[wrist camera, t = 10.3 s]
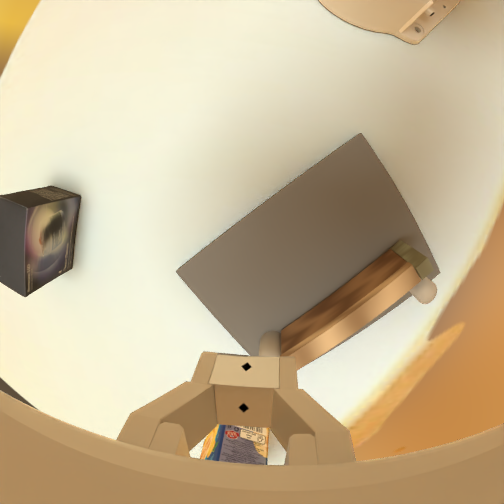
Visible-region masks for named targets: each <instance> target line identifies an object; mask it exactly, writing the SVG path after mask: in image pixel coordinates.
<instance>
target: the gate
mask: <svg viewBox="0 0 504 504" xmlns="http://www.w3.org/2000/svg"><path fill="white" fill-rule="evenodd" d="M433 270H434V269H433V267H432V265H431V263H430V261H429V259H428V258H427V257H426V256H424V255H423V254H421V253H420V252H418V251H417V250H415V249H414V248H412V247H411V246H409V245H407V244H406V243H404V242H403V241H401V240H400V241H399V242H397V243H396V244H395V245H394V246H393V247H391V248H390V249H389V250H388V251H387V252H385V253H384V254H383V255H382V256H381V257H379V258H378V259H377V260H376V261H374V262H373V263H372V264H371V265H369V266H368V267H367V268H366V269H364V270H363V271H362V272H361V273H359V274H358V275H357V276H355V277H354V278H353V279H352V280H350V281H349V282H348V283H346V284H345V285H344V286H342V287H341V288H340V289H338V290H337V291H336V292H334V293H333V294H332V295H330V296H329V297H328V298H326V299H325V300H324V301H322V302H321V303H320V304H318V305H317V306H315V307H314V308H313V309H311V310H310V311H309V312H307V313H306V314H304V315H303V316H301V317H300V318H299V319H297V320H296V321H294V322H293V323H291V324H290V325H289V326H287V327H286V328H284V329H283V330H281V355H280V356H294V357H295V358H296V369H297V370H299V369H300V368H302V367H303V366H305V365H307V364H308V363H310V362H311V361H313V360H315V359H316V358H318V357H319V356H321V355H322V354H324V353H325V352H327V351H328V350H330V349H331V348H333V347H334V346H336V345H337V344H339V343H340V342H342V341H343V340H345V339H346V338H348V337H349V336H350V335H352V334H353V333H355V332H356V331H358V330H359V329H360V328H362V327H363V326H364V325H366V324H367V323H369V322H370V321H371V320H373V319H374V318H375V317H377V316H378V315H379V314H381V313H382V312H383V311H385V310H386V309H387V308H388V307H390V306H391V305H392V304H394V303H395V302H396V301H397V300H399V299H400V298H401V297H402V296H404V295H405V294H406V293H407V292H408V291H410V290H411V289H412V288H413V287H414V286H416V285H417V284H418V283H419V282H420V281H421V279H422V280H423V279H424V278H425V277H427V276H428V275H429V274H430V273H431V272H432V271H433ZM420 278H421V279H420Z"/></svg>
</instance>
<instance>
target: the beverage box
mask: <svg viewBox="0 0 504 504" xmlns="http://www.w3.org/2000/svg"><path fill="white" fill-rule="evenodd" d="M268 436H269V428H261V427H248V426H234V425H220V424H217V426H216V427H215V428H214V429H213V430H212V431H211V432H210V433H209V435H208V436H207V438H206V439H205V441H204V445H203V449H202V453H201V456H200V459H205V460H212V461H221V462H230V463H241V464H256V465H267V457H268Z"/></svg>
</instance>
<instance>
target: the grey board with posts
mask: <svg viewBox="0 0 504 504" xmlns="http://www.w3.org/2000/svg"><path fill="white" fill-rule="evenodd" d="M400 240H401V241H403V242H404V243H406V244H407V245H409V246H411V247H412V248H414V249H415V250H417V251H418V252H420V253H421V254H423V255H424V256H426V257H427V258H428V259H429V261H430V263H431V265H432V267H433V269H434V270H433V271H432V272H431V273H430V274H429V275H428V276H427V277H425V278H424V279H423V280H422V279H421V278H420V279H421V281H420V282H419V283H418V284H417V285H416V286H414V287H413V288H412V289H411V290H410V291H408V292H407V293H406V294H405V295H404V296H402V297H401V298H400V299H399V300H397V301H396V302H395V303H394V304H392V305H391V306H390V307H388V308H387V309H386V310H385V311H383V312H382V313H381V314H379V315H378V316H377V317H375V318H374V319H373V320H371V321H370V322H369V323H367V324H366V325H364V326H363V327H362V328H360V329H359V330H358V331H356V332H355V333H353V334H352V335H350V336H349V337H348V338H346V339H345V340H343V341H342V342H340V343H339V344H337V345H336V346H334V347H333V348H331V349H330V350H328V351H327V352H329V351H331V350H332V349H334V348H336V347H337V346H339V345H340V344H342V343H344V342H345V341H347V340H348V339H350V338H351V337H353V336H355V335H356V334H358V333H359V332H361V331H362V330H364V329H365V328H367V327H368V326H370V325H371V324H373V323H374V322H376V321H377V320H378V319H380V318H381V317H383V316H384V315H386V314H387V313H388V312H390V311H391V310H393V309H394V308H395V307H397V306H398V305H400V304H401V303H402V302H404V301H405V300H406V299H408V298H409V297H410V296H412V295H413V296H414V297H415V298H416V299H417V300H418V301H419V302H420V303H422V304H427V303H430V302H431V301H432V300H433V299H434V298H435V296H436V293H437V287H436V285H435V284H434V283H433V282H432V281H431V280H432V279H433V278H435V277H436V276H437V275H438V274H439V273H440V271H439V269H438V266H437V264H436V262H435V260H434V258H433V255H432V253H431V251H430V249H429V247H428V245H427V243H426V241H425V239H424V237H423V235H422V233H421V231H420V229H419V227H418V225H417V223H416V221H415V219H414V217H413V216H412V214H411V212H410V210H409V208H408V206H407V205H406V203H405V201H404V199H403V198H402V196H401V194H400V192H399V191H398V189H397V187H396V186H395V184H394V182H393V181H392V179H391V177H390V176H389V174H388V173H387V171H386V169H385V168H384V166H383V165H382V163H381V162H380V160H379V158H378V157H377V155H376V154H375V152H374V151H373V149H372V148H371V146H370V145H369V144H368V142H367V141H366V139H365V138H364V136H363V135H362V133H360V134H358V135H356V136H355V137H354V138H352V139H351V140H349V141H348V142H347V143H345V144H344V145H342V146H341V147H339V148H338V149H337V150H335V151H334V152H332V153H331V154H330V155H328V156H327V157H325V158H324V159H323V160H321V161H320V162H318V163H317V164H316V165H314V166H313V167H312V168H310V169H309V170H307V171H306V172H305V173H303V174H302V175H301V176H299V177H298V178H296V179H295V180H294V181H292V182H291V183H290V184H288V185H287V186H286V187H284V188H283V189H282V190H280V191H279V192H277V193H276V194H275V195H273V196H272V197H271V198H269V199H268V200H267V201H265V202H264V203H263V204H261V205H260V206H259V207H257V208H256V209H255V210H253V211H252V212H251V213H249V214H248V215H247V216H246V217H244V218H243V219H242V220H240V221H239V222H238V223H236V224H235V225H234V226H232V227H231V228H230V229H229V230H227V231H226V232H225V233H223V234H222V235H221V236H219V237H218V238H217V239H216V240H214V241H213V242H212V243H210V244H209V245H208V246H207V247H205V248H204V249H203V250H201V251H200V252H199V253H198V254H196V255H195V256H194V257H193V258H191V259H190V260H189V261H188V262H186V263H185V264H184V265H182V266H181V267H180V268H179V269H178V270H177V271H176V272H177V274H178V275H179V276H180V277H181V278H182V280H183V281H184V282H185V283H186V284H187V286H188V287H189V288H190V289H191V290H192V291H193V293H194V294H195V295H196V296H197V297H198V298H199V300H200V301H201V302H202V303H203V304H204V305H205V306H206V308H207V309H208V310H209V311H210V312H211V313H212V314H213V315H214V317H215V318H216V319H217V320H218V321H219V322H220V323H221V324H222V325H223V327H224V328H225V329H226V330H227V331H228V332H229V333H230V334H231V335H232V336H233V338H234V339H235V340H236V341H237V342H238V343H239V344H240V345H241V346H242V347H243V348H244V349H245V350H246V351H247V353H248V354H249V355H250V356H264V357H279V356H280V355H281V330H283V329H284V328H286V327H287V326H289V325H290V324H291V323H293V322H294V321H296V320H297V319H299V318H300V317H301V316H303V315H304V314H306V313H307V312H309V311H310V310H311V309H313V308H314V307H315V306H317V305H318V304H320V303H321V302H322V301H324V300H325V299H326V298H328V297H329V296H330V295H332V294H333V293H334V292H336V291H337V290H338V289H340V288H341V287H342V286H344V285H345V284H346V283H348V282H349V281H350V280H352V279H353V278H354V277H355V276H357V275H358V274H359V273H361V272H362V271H363V270H364V269H366V268H367V267H368V266H369V265H371V264H372V263H373V262H374V261H376V260H377V259H378V258H379V257H381V256H382V255H383V254H384V253H385V252H387V251H388V250H389V249H390V248H391V247H393V246H394V245H395V244H396V243H397V242H399V241H400ZM327 352H325V353H324V354H326V353H327ZM324 354H322V355H324ZM322 355H321V356H322ZM321 356H319V357H321ZM319 357H318V358H319ZM316 359H317V358H316ZM313 361H314V360H313ZM311 362H312V361H311ZM308 364H309V363H308Z"/></svg>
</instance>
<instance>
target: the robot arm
mask: <svg viewBox="0 0 504 504" xmlns="http://www.w3.org/2000/svg"><path fill="white" fill-rule="evenodd" d="M319 1H320V2H321V4H322V5H323V6H325V7H326V8H327V9H328V10H329V11H331V12H332V13H333V14H335V15H336V16H338V17H339V18H341V19H343V20H345V21H347V22H349V23H351V24H353V25H355V26H358V27H360V28H363V29H367V30H371V31H375V32H382V33H388V34H392V35H395V36H396V37H398V38H400V39H402V40H404V41H406V42H408V43H411V44H418V43H419V42H420V41H421V40H422V39H423V38H424V37H425V36H426V35H427V34H428V33H429V32H430V31H431V30H432V29H433V28H434V27H435V26H436V25H437V24H438V23H439V22H440V21H441V20H442V19H443V18H444V17H446V16H447V15H448V14H449V13H450V12H451V11H452V10H453V9H454V8H455V7H456V6H457V5H458V4H459V2H460V0H319ZM415 29H416V30H417V31H418V32H417V31H416V30H415ZM217 424H220V425H234V426H248V427H261V428H271V431H272V432H273V434H274V435H275V436H276V438H277V439H278V441H279V442H280V444H281V445H282V446H283V448H284V449H285V451H286V452H287V453H286V458H285V464H284V465H256V464H241V463H230V462H221V461H212V460H205V459H198V458H192V457H190V454H189V451H190V450H191V449H192V448H194V447H195V446H196V445H197V444H198V443H199V442H200V441H201V440H202V439H203V438H205V437H206V436H207V435H208V434H209V433H210V432H211V431H212V430H213V429H214V428H215V427H216V426H217ZM0 504H504V424H501V425H499V426H497V427H494V428H492V429H489V430H486V431H484V432H481V433H478V434H476V435H473V436H470V437H467V438H464V439H461V440H458V441H455V442H451V443H448V444H444V445H440V446H437V447H433V448H429V449H425V450H421V451H417V452H412V453H407V454H403V455H398V456H392V457H386V458H380V459H373V460H366V461H358V462H356V459H355V454H354V449H353V444H352V440H351V435H350V431H349V430H348V429H347V428H346V427H344V426H343V425H342V424H341V423H340V422H339V421H337V420H336V419H335V418H334V417H333V416H332V415H331V414H330V413H328V412H327V411H326V410H325V409H324V408H323V407H322V406H321V405H319V404H318V403H317V402H316V401H315V400H314V399H313V398H312V397H311V396H310V395H308V394H307V393H306V392H305V391H304V390H303V389H298V382H297V369H296V358H295V357H294V356H279V357H264V356H248V355H236V354H225V353H215V352H203V353H202V354H201V356H200V359H199V361H198V364H197V366H196V369H195V372H194V374H193V377H192V380H191V382H187V381H186V382H184V383H183V384H181V385H179V386H178V387H176V388H174V389H173V390H171V391H169V392H168V393H166V394H164V395H162V396H161V397H159V398H157V399H155V400H154V401H152V402H150V403H148V404H147V405H145V406H143V407H141V408H139V409H138V410H136V411H134V412H132V413H130V415H129V417H128V419H127V421H126V423H125V425H124V426H123V428H122V430H121V432H120V434H119V436H118V438H117V440H114V439H111V438H108V437H105V436H102V435H99V434H96V433H93V432H90V431H87V430H84V429H82V428H79V427H76V426H74V425H71V424H69V423H66V422H64V421H61V420H59V419H57V418H54V417H52V416H50V415H47V414H45V413H43V412H41V411H39V410H37V409H34V408H32V407H30V406H28V405H26V404H24V403H23V402H21V401H19V400H17V399H15V398H13V397H11V396H9V395H7V394H5V393H4V392H2V391H0Z"/></svg>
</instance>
